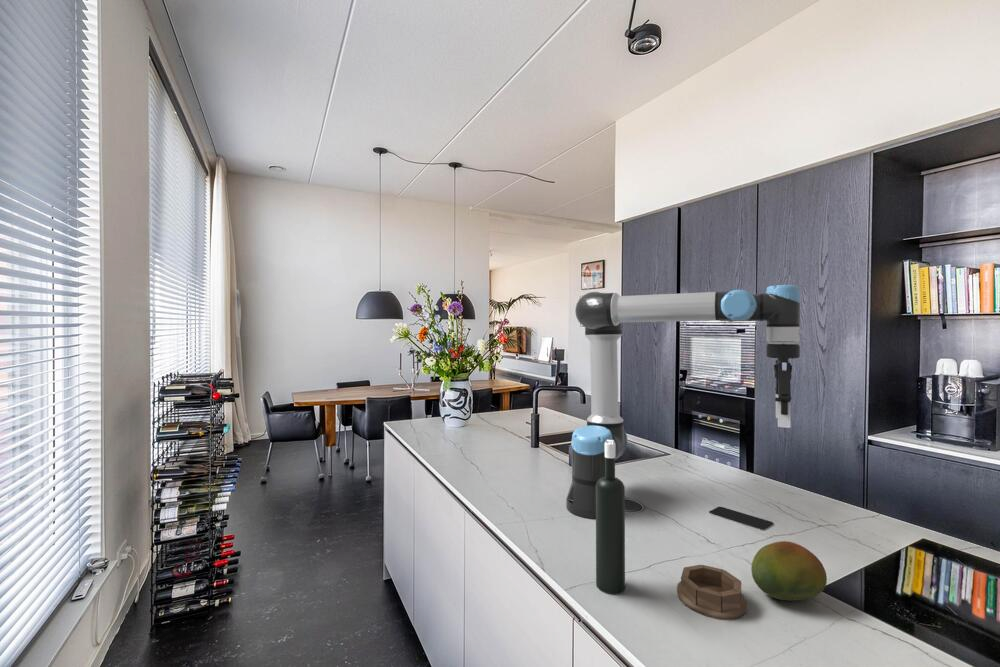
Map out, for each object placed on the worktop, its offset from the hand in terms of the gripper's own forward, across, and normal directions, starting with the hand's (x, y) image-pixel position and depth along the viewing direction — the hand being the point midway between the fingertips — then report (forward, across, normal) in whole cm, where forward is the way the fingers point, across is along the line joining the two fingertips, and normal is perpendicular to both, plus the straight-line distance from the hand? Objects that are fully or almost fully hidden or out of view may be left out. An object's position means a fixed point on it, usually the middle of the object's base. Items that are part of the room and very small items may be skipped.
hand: (782, 422), depth 118 cm
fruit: (+28, -37, +1) cm, 46 cm away
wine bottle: (+28, -50, +32) cm, 66 cm away
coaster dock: (+28, -45, +14) cm, 55 cm away
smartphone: (+29, 0, +10) cm, 30 cm away
